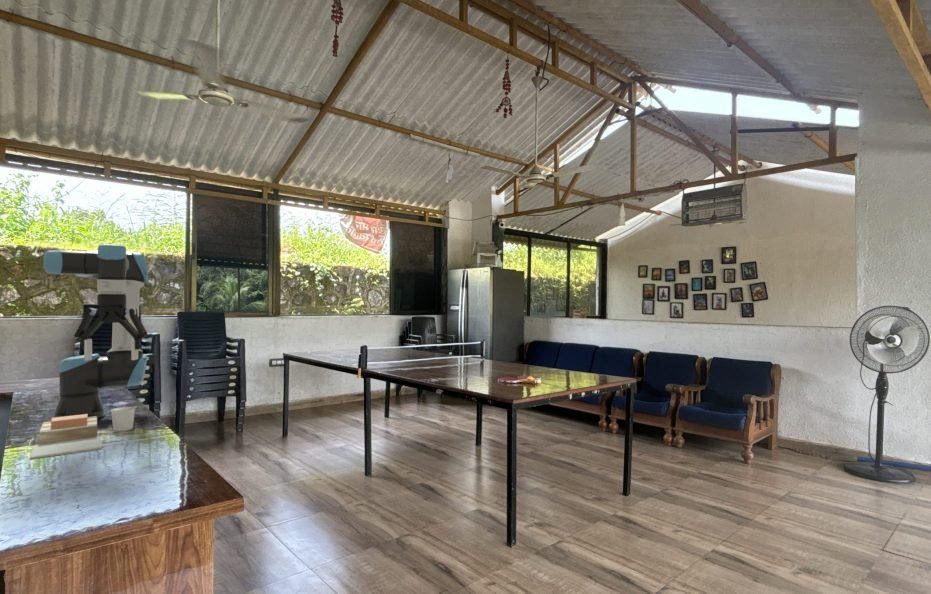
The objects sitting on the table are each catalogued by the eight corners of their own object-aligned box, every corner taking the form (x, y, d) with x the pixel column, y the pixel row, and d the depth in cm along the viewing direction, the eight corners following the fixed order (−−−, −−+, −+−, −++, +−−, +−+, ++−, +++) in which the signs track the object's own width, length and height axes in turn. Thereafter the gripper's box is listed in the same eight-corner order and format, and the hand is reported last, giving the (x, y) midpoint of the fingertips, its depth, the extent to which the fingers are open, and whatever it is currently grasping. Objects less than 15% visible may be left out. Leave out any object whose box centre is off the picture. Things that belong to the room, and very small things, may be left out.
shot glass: (113, 427, 171) (113, 407, 171) (136, 425, 174) (136, 405, 174) (108, 432, 165) (108, 411, 165) (133, 430, 168) (133, 409, 168)
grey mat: (34, 447, 148) (34, 445, 148) (100, 438, 157) (100, 436, 157) (29, 459, 137) (29, 457, 137) (101, 448, 146) (101, 446, 146)
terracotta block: (52, 424, 159) (52, 417, 159) (87, 420, 164) (87, 413, 164) (50, 428, 154) (51, 421, 154) (87, 424, 159) (87, 417, 159)
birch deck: (43, 434, 162) (43, 422, 162) (96, 427, 170) (96, 416, 170) (39, 445, 149) (39, 432, 149) (97, 438, 158) (97, 425, 158)
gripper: (60, 292, 152) (60, 361, 152) (148, 293, 156) (148, 361, 156) (76, 292, 159) (75, 358, 160) (159, 293, 163) (159, 357, 163)
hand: (111, 359), depth 158 cm, fingers open, 13 cm apart
